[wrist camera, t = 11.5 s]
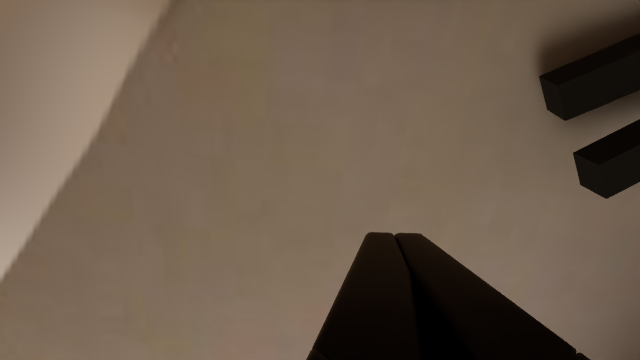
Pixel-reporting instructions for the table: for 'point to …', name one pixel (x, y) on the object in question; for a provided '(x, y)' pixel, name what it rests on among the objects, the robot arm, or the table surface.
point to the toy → (592, 92)
